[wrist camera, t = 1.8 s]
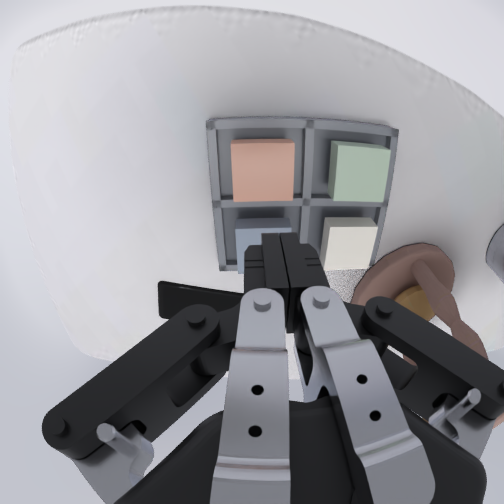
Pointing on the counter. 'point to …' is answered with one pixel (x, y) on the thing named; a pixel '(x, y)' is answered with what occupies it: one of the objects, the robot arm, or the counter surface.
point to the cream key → (347, 243)
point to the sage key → (358, 171)
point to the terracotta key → (262, 169)
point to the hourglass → (420, 290)
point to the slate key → (256, 233)
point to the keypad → (305, 177)
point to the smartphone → (192, 298)
